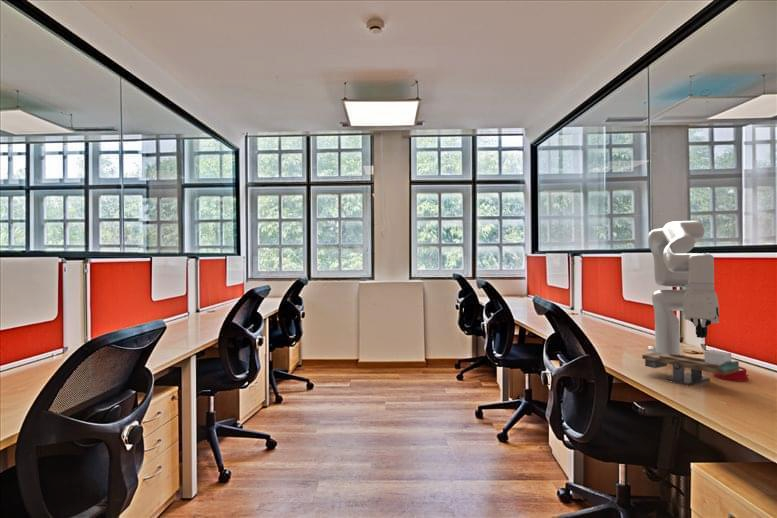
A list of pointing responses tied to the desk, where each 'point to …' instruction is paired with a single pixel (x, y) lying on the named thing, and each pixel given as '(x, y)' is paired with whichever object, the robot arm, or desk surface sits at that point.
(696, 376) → the stand
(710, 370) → the beam
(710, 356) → the rider
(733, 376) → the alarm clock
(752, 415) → the desk surface
